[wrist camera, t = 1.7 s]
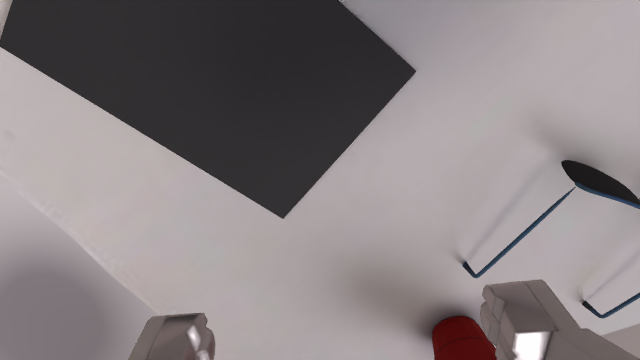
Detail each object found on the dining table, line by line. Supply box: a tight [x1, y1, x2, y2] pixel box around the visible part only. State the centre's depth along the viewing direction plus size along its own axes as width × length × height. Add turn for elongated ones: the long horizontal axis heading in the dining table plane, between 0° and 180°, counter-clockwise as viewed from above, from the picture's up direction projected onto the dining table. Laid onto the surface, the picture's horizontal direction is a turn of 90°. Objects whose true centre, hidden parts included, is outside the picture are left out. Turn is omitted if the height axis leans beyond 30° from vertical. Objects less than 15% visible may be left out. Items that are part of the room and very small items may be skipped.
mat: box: [0, 0, 416, 218], centre depth 27 cm, size 26×18×1 cm
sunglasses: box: [463, 160, 640, 318], centre depth 35 cm, size 17×15×5 cm
